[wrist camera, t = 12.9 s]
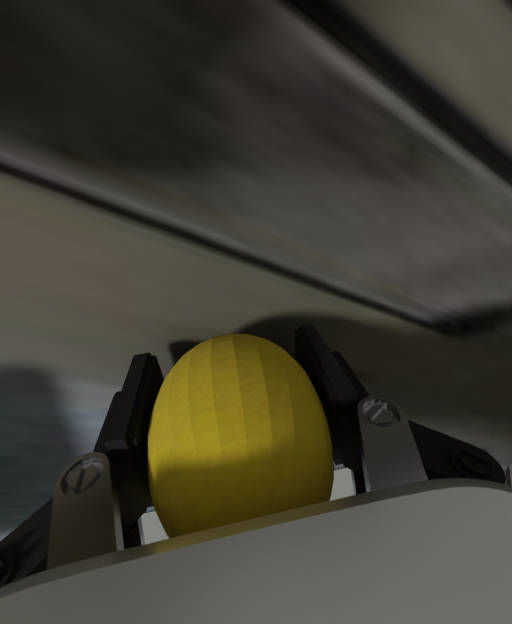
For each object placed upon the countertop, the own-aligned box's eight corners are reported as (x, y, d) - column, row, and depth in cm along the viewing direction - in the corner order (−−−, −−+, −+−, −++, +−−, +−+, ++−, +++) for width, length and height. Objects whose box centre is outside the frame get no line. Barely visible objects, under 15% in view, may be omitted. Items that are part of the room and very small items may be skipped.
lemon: (271, 402, 15) (333, 625, 8) (159, 395, 13) (109, 660, 6) (305, 307, 12) (440, 507, 5) (172, 287, 11) (117, 520, 4)
